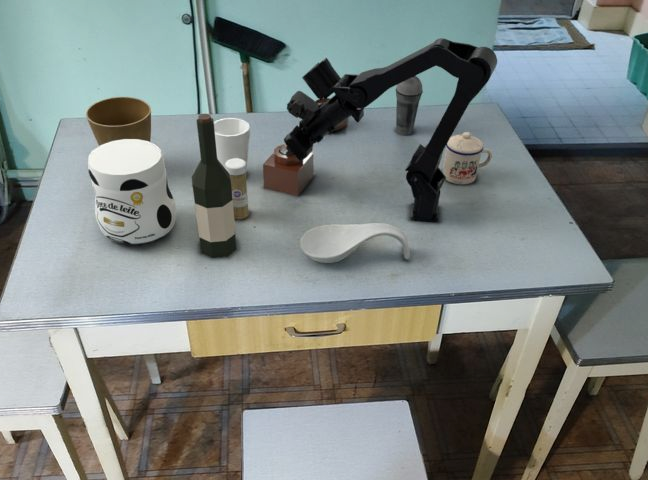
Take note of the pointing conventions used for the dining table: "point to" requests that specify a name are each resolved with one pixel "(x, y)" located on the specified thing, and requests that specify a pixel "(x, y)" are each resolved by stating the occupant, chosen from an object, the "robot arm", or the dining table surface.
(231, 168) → the sprinkles bottle
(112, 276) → the dining table surface
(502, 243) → the dining table surface
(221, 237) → the wine bottle
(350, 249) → the spoon rest
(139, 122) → the plant pot
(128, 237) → the milk container
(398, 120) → the beverage cup
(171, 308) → the dining table surface
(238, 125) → the foam cup
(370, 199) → the dining table surface
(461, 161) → the teacup with lid
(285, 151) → the dark grey short cylinder
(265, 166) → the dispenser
